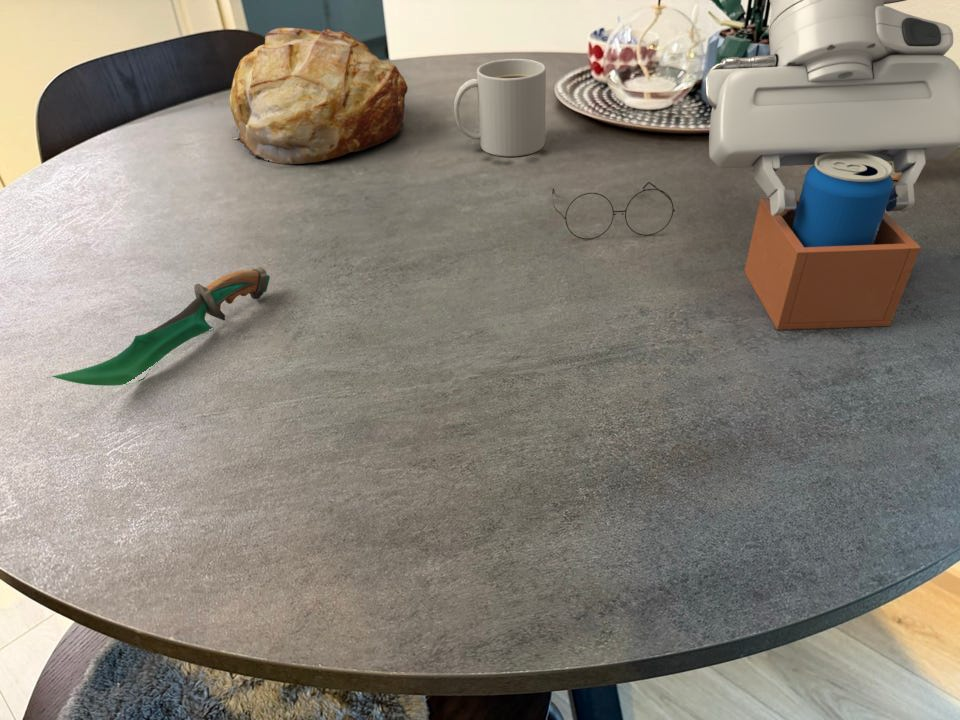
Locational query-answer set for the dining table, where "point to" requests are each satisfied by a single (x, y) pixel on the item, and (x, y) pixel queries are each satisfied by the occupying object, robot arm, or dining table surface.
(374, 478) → the dining table surface
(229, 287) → the knife
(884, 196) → the beverage can
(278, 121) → the bread
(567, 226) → the eyeglasses
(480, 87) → the mug
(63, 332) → the dining table surface
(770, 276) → the box
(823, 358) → the dining table surface
